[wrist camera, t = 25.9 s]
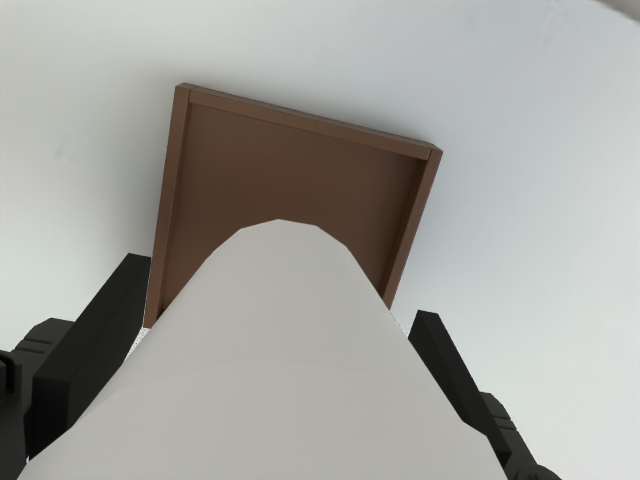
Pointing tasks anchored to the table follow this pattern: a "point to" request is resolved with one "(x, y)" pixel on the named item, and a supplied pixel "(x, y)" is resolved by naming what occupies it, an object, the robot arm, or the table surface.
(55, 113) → the table surface
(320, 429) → the foam cup
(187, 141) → the walnut tray
